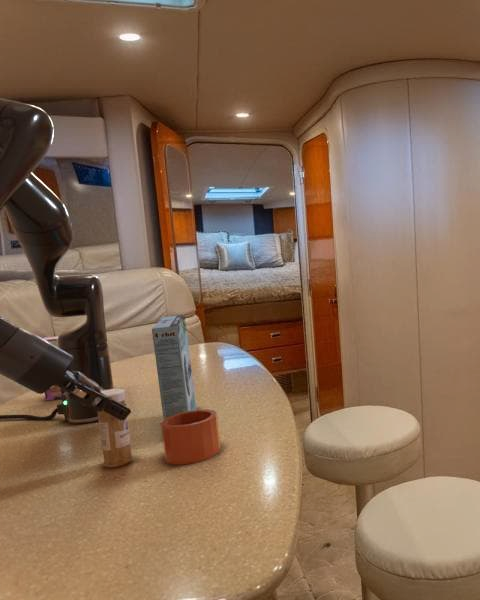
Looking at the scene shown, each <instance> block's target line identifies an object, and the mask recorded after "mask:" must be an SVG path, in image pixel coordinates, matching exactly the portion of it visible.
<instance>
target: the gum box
mask: <svg viewBox="0 0 480 600" xmlns="http://www.w3.org/2000/svg"><path fill="white" fill-rule="evenodd" d="M151 334H152V340H153V348H154V356H155V364H156V373H157V380H158V387H159V395H160V401H161V410H162V418H163V419H162V420H164V419H166V418H167V417H169V416H172V415H175V414H178V413H182V412H186V411H192V410H197V400H196V393H195V386H194V377H193V369H192V361H191V353H190V347H189V337H188V331H187V324H186V315H184V314H179V315H171V316H163V317H162V318H161V319H160V320H159V321H158V322H157V323H156V324H155V325H154V326H153V327H152V328H151Z"/></svg>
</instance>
